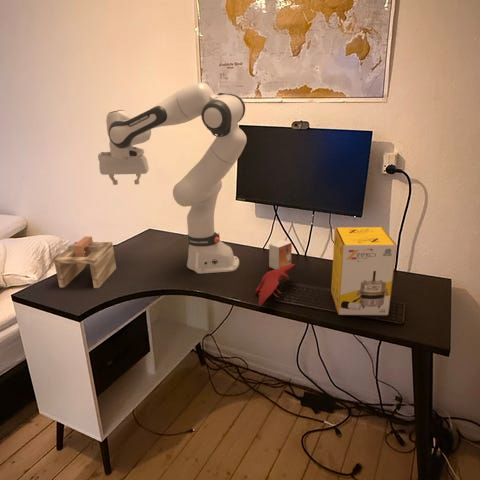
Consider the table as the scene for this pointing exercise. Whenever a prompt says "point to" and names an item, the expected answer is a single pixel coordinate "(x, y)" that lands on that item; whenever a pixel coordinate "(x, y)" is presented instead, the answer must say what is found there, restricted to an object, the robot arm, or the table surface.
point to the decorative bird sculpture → (272, 282)
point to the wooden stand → (98, 259)
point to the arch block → (82, 249)
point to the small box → (280, 254)
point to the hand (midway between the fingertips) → (126, 184)
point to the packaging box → (362, 270)
